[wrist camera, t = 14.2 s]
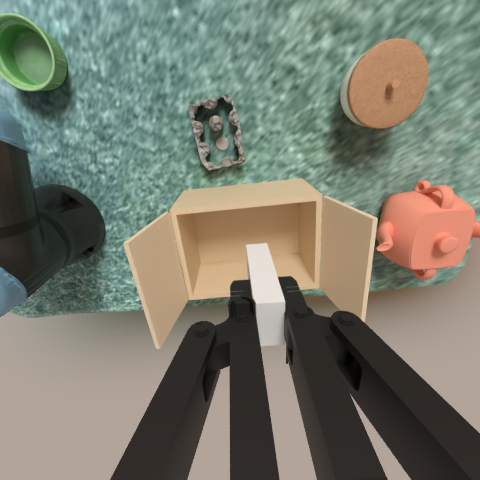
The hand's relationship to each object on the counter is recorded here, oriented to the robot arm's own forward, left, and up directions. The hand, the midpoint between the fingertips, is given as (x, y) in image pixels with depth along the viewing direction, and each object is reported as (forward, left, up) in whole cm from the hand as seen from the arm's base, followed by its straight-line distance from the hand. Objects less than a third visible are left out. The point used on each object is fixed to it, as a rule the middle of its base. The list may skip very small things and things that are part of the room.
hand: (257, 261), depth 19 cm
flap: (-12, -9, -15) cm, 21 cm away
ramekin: (-29, +21, -32) cm, 48 cm away
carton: (0, -9, -32) cm, 33 cm away
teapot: (+31, -11, -32) cm, 46 cm away
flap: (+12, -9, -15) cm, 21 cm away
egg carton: (-4, +8, -32) cm, 33 cm away
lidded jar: (+21, +12, -32) cm, 40 cm away
